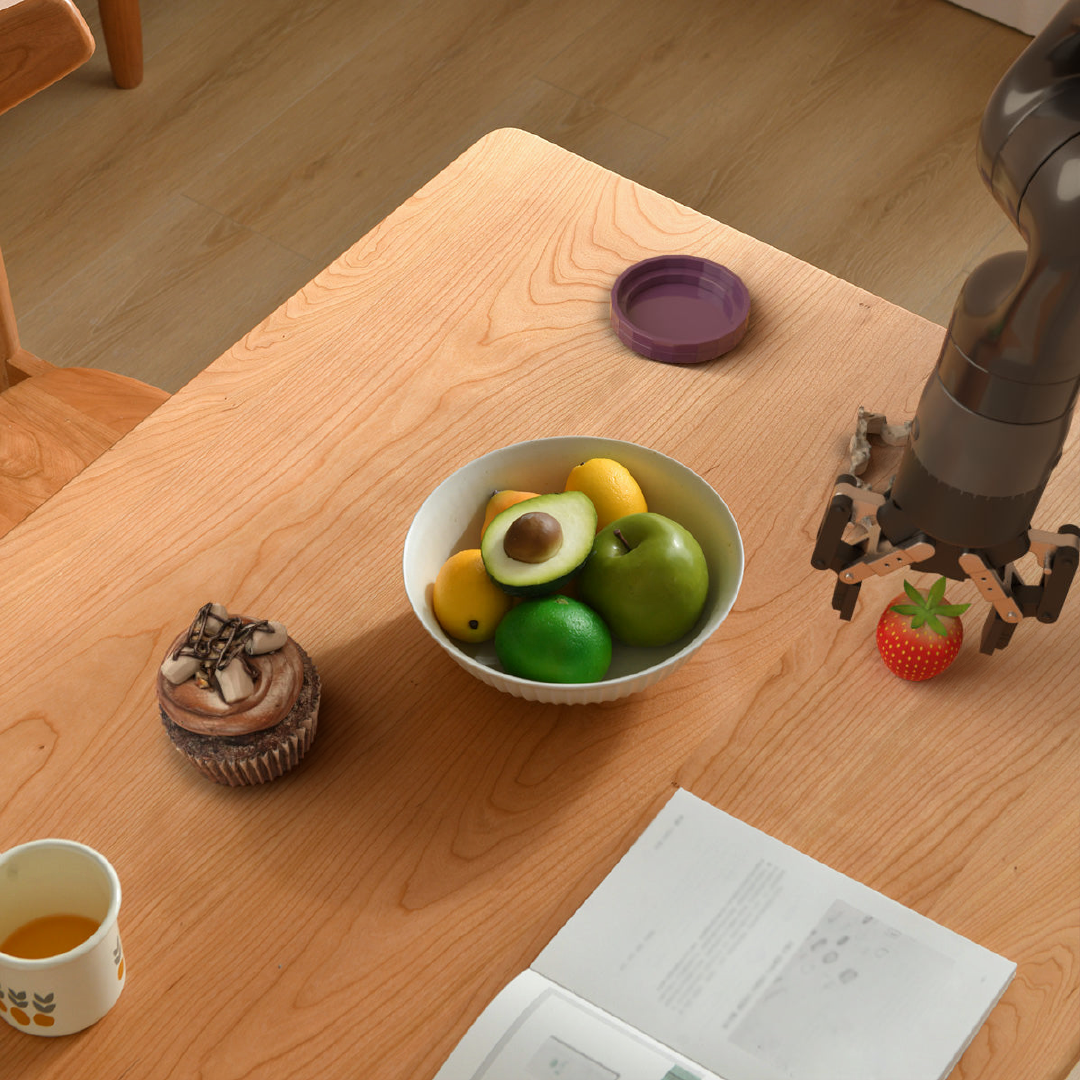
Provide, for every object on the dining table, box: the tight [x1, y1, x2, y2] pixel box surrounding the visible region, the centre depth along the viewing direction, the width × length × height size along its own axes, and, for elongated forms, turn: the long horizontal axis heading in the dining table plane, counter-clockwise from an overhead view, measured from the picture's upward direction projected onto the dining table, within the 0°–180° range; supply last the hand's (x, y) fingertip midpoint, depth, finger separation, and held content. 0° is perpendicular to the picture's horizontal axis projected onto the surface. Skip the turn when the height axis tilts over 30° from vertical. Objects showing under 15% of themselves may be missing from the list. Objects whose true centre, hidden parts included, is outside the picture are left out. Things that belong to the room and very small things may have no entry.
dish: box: [609, 254, 752, 364], centre depth 108 cm, size 11×11×3 cm
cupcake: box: [154, 601, 322, 787], centre depth 80 cm, size 10×10×10 cm
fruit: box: [875, 576, 972, 682], centre depth 84 cm, size 5×5×8 cm
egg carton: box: [848, 405, 913, 533], centre depth 95 cm, size 11×8×4 cm
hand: (915, 626), depth 83 cm, fingers open, 8 cm apart
